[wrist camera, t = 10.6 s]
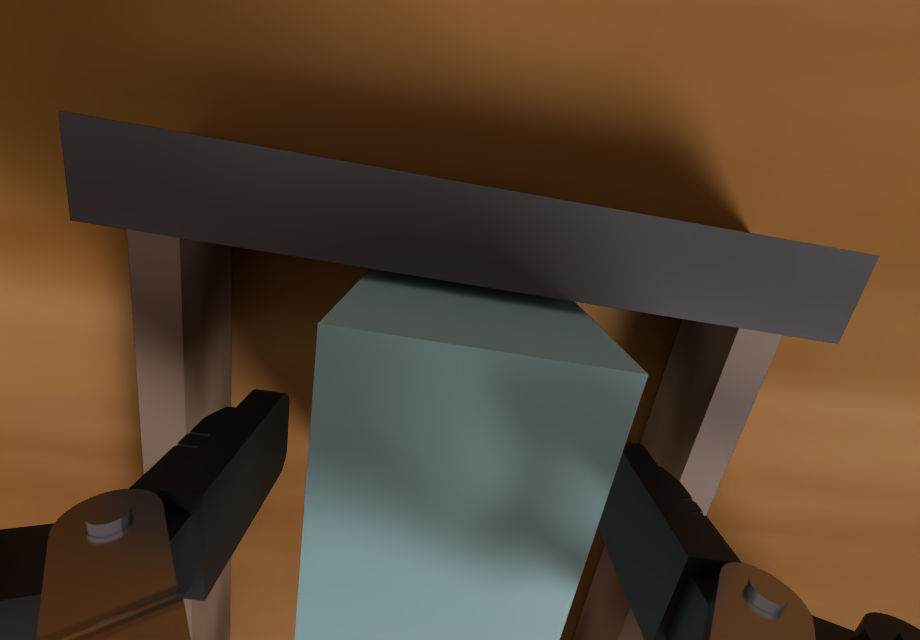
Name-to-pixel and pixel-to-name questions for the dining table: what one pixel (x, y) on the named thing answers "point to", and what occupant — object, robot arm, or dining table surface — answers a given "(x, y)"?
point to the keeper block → (456, 461)
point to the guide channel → (450, 259)
